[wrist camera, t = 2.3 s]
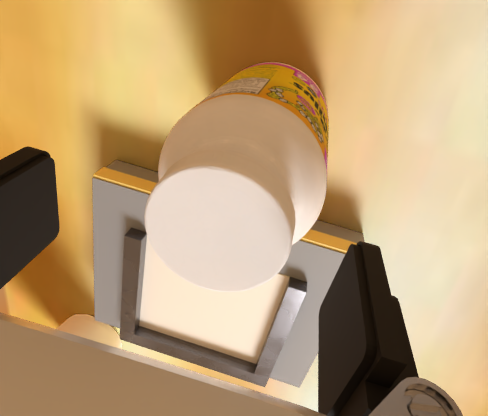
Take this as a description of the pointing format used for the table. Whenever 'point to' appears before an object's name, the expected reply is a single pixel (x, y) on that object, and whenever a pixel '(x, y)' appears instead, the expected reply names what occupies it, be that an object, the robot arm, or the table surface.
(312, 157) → the supplement bottle
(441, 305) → the table surface
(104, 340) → the foam cup
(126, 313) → the bay rails
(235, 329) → the loading dock
